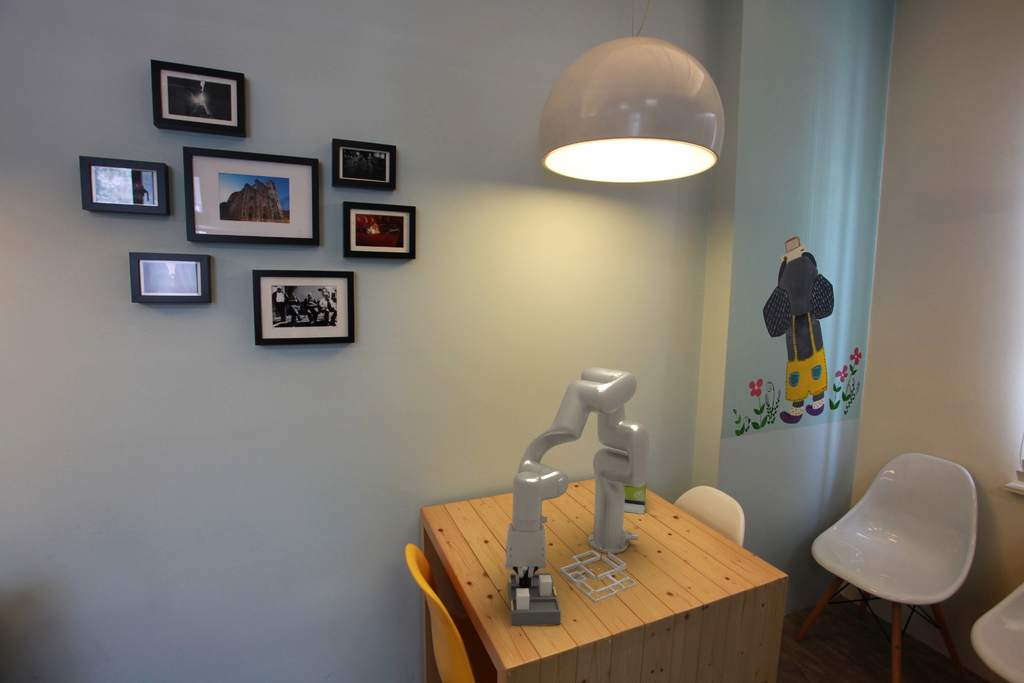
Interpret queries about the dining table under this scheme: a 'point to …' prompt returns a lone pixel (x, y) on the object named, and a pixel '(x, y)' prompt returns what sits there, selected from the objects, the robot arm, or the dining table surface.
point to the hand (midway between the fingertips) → (524, 589)
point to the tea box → (634, 498)
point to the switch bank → (534, 604)
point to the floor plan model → (608, 574)
